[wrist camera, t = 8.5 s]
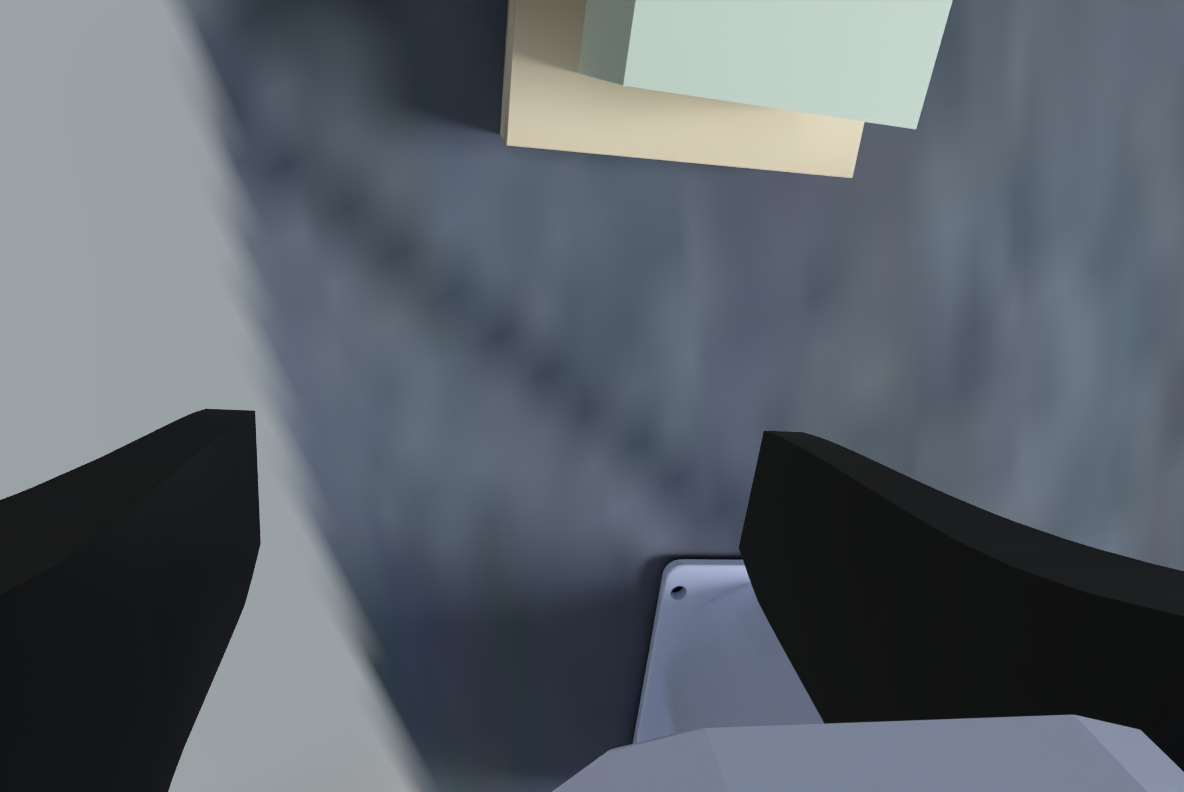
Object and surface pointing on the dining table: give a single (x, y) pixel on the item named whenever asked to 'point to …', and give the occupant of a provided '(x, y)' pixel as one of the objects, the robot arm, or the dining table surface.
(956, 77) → the dining table surface
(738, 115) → the pedestal
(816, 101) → the cube
